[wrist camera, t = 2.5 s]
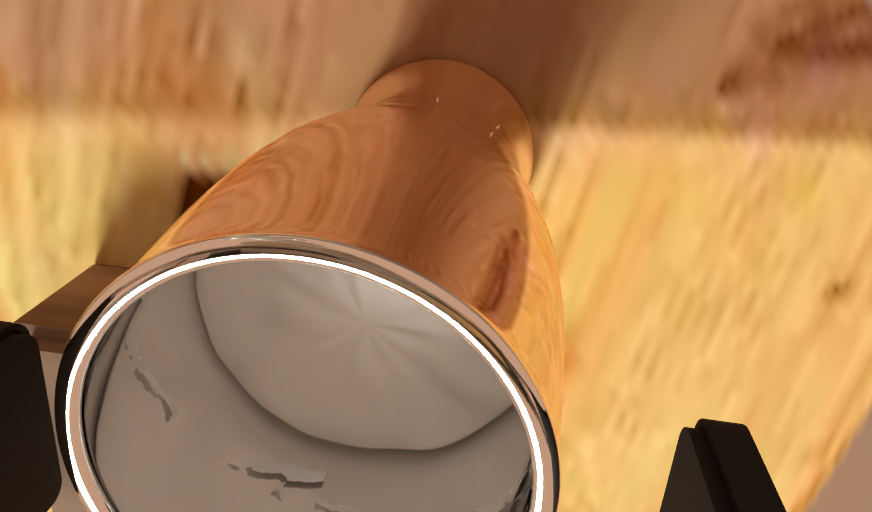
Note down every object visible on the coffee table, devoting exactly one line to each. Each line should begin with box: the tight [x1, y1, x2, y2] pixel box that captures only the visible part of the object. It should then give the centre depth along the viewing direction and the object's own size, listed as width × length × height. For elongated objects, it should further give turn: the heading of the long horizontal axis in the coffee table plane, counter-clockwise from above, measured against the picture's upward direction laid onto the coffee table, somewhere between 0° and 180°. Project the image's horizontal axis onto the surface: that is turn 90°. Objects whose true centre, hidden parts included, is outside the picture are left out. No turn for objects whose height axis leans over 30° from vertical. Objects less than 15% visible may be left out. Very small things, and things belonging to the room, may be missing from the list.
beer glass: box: [54, 59, 565, 512], centre depth 16 cm, size 7×7×15 cm
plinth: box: [14, 264, 129, 512], centre depth 25 cm, size 11×11×5 cm
